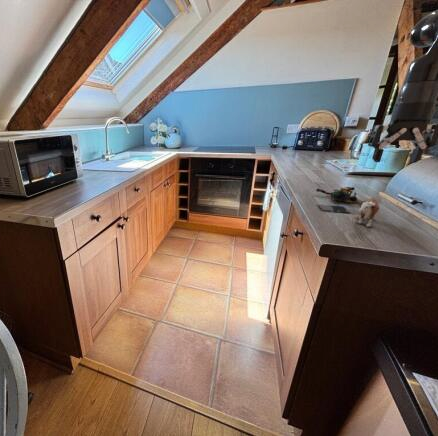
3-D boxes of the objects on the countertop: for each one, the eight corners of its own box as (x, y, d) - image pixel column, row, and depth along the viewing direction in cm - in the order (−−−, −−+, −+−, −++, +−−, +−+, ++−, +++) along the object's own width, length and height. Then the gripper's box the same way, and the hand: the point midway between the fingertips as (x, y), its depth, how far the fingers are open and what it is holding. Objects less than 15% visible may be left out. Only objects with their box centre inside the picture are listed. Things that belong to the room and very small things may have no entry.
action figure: (348, 194, 108) (377, 205, 94) (314, 194, 108) (338, 205, 94) (352, 182, 105) (382, 191, 91) (317, 182, 106) (342, 191, 92)
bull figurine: (350, 226, 77) (358, 202, 73) (359, 215, 85) (367, 193, 82) (368, 231, 74) (377, 205, 70) (376, 219, 82) (385, 195, 78)
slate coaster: (342, 207, 92) (342, 206, 92) (349, 213, 87) (349, 212, 87) (318, 205, 95) (318, 204, 95) (323, 210, 89) (323, 209, 89)
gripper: (439, 100, 67) (416, 160, 73) (375, 103, 71) (359, 159, 77) (461, 98, 60) (434, 164, 66) (390, 102, 64) (370, 163, 70)
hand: (394, 162), depth 72 cm, fingers open, 8 cm apart
